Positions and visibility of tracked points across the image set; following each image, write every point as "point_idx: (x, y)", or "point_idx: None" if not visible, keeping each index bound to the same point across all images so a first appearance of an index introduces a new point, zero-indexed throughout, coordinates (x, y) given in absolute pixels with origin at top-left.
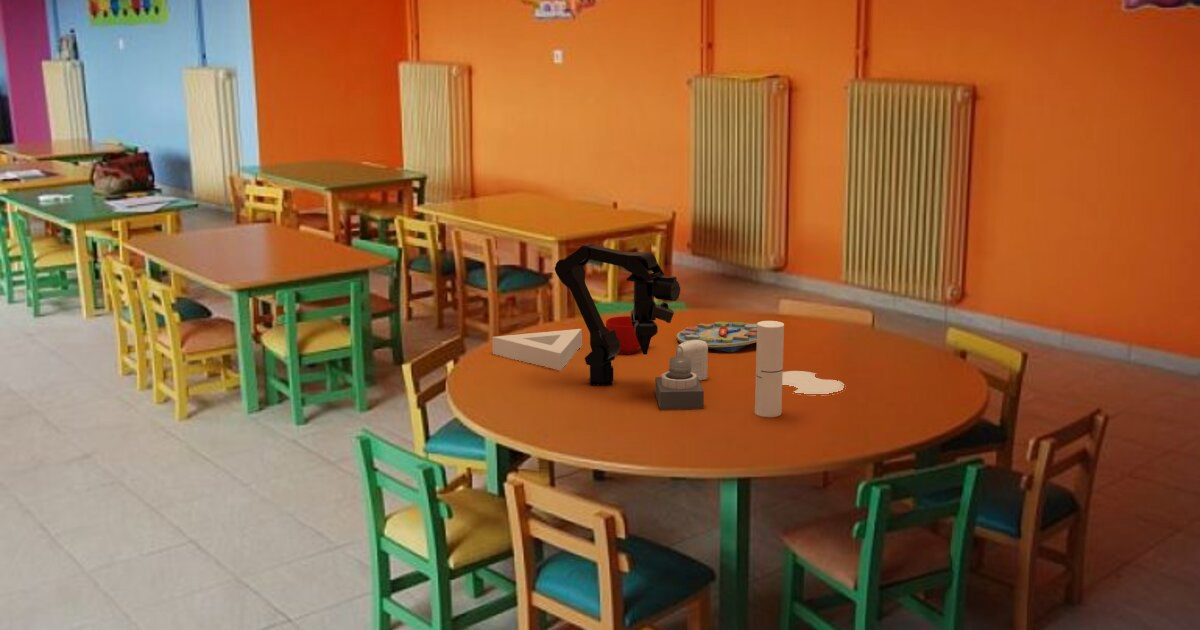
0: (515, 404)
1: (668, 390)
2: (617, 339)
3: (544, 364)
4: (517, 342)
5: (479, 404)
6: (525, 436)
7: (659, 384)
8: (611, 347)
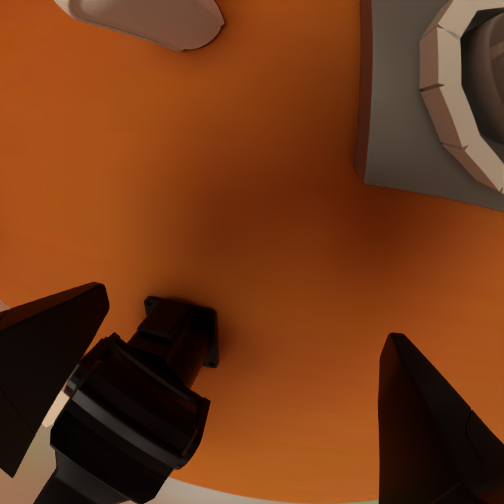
0: (330, 476)
1: None
2: (79, 406)
3: None
4: (53, 420)
5: (312, 495)
6: None
7: (491, 198)
8: (157, 431)
